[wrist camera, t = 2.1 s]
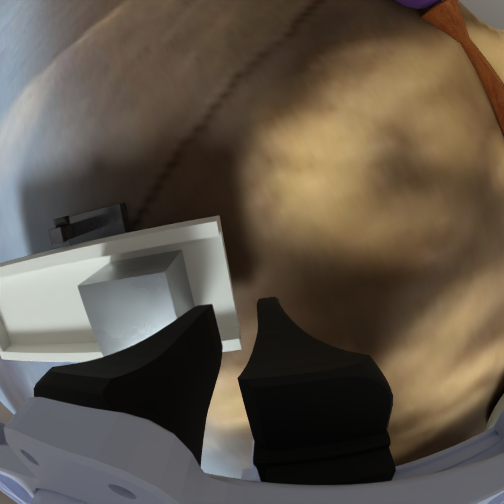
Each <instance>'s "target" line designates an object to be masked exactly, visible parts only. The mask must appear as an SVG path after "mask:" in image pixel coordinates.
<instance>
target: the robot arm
mask: <svg viewBox="0 0 504 504" xmlns="http://www.w3.org/2000/svg"><path fill="white" fill-rule="evenodd" d="M257 315H258V333H257V337H256V342H255V345H254V348H253V352H252V354H251V357H250V359H249V361H248V364H247V365H246V367H245V369H244V370H243V372H242V373H241V375H240V376H239V377H238V382H239V386H240V390H241V394H242V398H243V401H244V405H245V409H246V413H247V417H248V420H249V424H250V428H251V431H252V435H253V446H252V457H251V467H250V469H243V470H242V477H241V479H236V478H230V477H224V476H218V475H213V474H207V473H205V472H203V470H202V469H201V468H200V467H201V455H202V446H203V438H204V431H205V424H206V417H207V413H208V408H209V405H210V401H211V398H212V395H213V391H214V388H215V384H216V381H217V377H218V374H219V370H220V366H221V359H222V350H223V345H222V341H221V337H220V333H219V329H218V325H217V321H216V316H215V312H214V308H213V304H206V305H198V306H195V307H194V308H192V309H190V310H189V311H187V312H186V313H184V314H183V315H182V316H180V317H179V318H177V319H176V320H174V321H173V322H172V323H170V324H169V325H167V326H166V327H164V328H163V329H161V330H159V331H158V332H156V333H155V334H153V335H151V336H150V337H148V338H146V339H144V340H143V341H141V342H139V343H137V344H134V345H132V346H130V347H128V348H126V349H123V350H121V351H118V352H115V353H113V354H110V355H107V356H104V357H101V358H98V359H94V360H90V361H86V362H81V363H76V364H70V365H64V366H56V367H52V368H51V369H49V370H48V372H47V373H46V374H45V375H44V376H43V377H42V378H41V379H40V380H39V381H38V382H37V383H36V385H35V387H34V397H33V398H28V400H27V401H26V402H25V403H24V404H23V405H22V407H21V408H20V409H19V410H18V411H17V412H16V414H15V415H14V416H13V417H12V419H10V421H9V422H8V423H7V424H6V426H5V424H4V423H3V422H2V421H1V420H0V490H1V491H2V492H4V493H5V494H6V495H7V496H9V497H10V498H12V499H13V500H14V501H16V502H17V503H19V504H504V410H503V411H502V412H501V413H500V415H499V417H498V418H497V421H496V423H495V426H494V427H492V428H490V429H489V430H487V431H485V432H483V433H481V434H479V435H477V436H475V437H472V438H470V439H468V440H466V441H464V442H462V443H459V444H457V445H455V446H452V447H450V448H448V449H445V450H443V451H440V452H437V453H435V454H432V455H429V456H427V457H424V458H421V459H418V460H415V461H412V462H409V463H406V464H402V465H399V466H396V467H395V465H394V462H393V458H392V455H391V452H390V449H389V446H390V437H389V435H388V432H387V428H388V423H389V419H390V415H391V410H392V406H393V394H392V391H391V388H390V386H389V384H388V382H387V380H386V378H385V376H384V375H383V373H382V372H381V370H380V369H379V368H378V366H377V365H376V363H375V362H374V361H373V359H372V358H371V357H370V356H369V355H364V354H359V353H354V352H349V351H345V350H341V349H338V348H335V347H332V346H330V345H328V344H325V343H323V342H321V341H319V340H317V339H315V338H313V337H312V336H310V335H309V334H307V333H306V332H304V331H303V330H302V329H301V328H300V327H299V326H298V325H296V324H295V323H294V322H293V321H292V320H291V318H290V317H289V316H288V315H287V314H286V313H285V311H284V310H283V308H282V307H281V305H280V303H279V301H278V299H277V298H276V297H270V298H262V299H259V300H258V302H257Z"/></svg>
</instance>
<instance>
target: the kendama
mask: <svg viewBox="0 0 504 504" xmlns="http://www.w3.org/2000/svg"><path fill="white" fill-rule="evenodd" d="M395 1H397V2H399V3H400V4H402V5H404V6H407V7H412V8H416V9H423V8H430V9H429V10H428V11H427V12H426V13H425V14H424V15H423V16H422V17H421V18H422V19H424V20H426V21H427V22H429V23H431V24H432V25H434V26H436V27H437V28H439V29H440V30H442V31H443V32H445V33H446V34H448V35H449V36H451V37H452V38H454V39H455V40H457V41H458V42H459V43H461V45H462V47H463V48H464V50H465V52H466V53H467V55H468V57H469V59H470V60H471V62H472V64H473V66H474V68H475V70H476V72H477V74H478V76H479V78H480V80H481V82H482V84H483V86H484V88H485V90H486V92H487V94H488V97H489V99H490V101H491V103H492V106H493V108H494V111H495V113H496V116H497V118H498V121H499V123H500V126H501V129H502V131H503V134H504V84H503V82H502V81H501V79H500V78H499V76H498V75H497V73H496V72H495V70H494V69H493V68H492V66H491V65H490V64H489V62H488V61H487V60H486V58H485V57H484V56H483V54H482V53H481V52H480V51H479V49H478V48H477V47H476V46H475V44H474V43H473V42H472V41H471V40H470V38H469V35H468V32H467V28H466V25H465V22H464V19H463V16H462V14H461V11H460V8H459V5H458V3H457V0H443V1H441V0H395Z"/></svg>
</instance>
